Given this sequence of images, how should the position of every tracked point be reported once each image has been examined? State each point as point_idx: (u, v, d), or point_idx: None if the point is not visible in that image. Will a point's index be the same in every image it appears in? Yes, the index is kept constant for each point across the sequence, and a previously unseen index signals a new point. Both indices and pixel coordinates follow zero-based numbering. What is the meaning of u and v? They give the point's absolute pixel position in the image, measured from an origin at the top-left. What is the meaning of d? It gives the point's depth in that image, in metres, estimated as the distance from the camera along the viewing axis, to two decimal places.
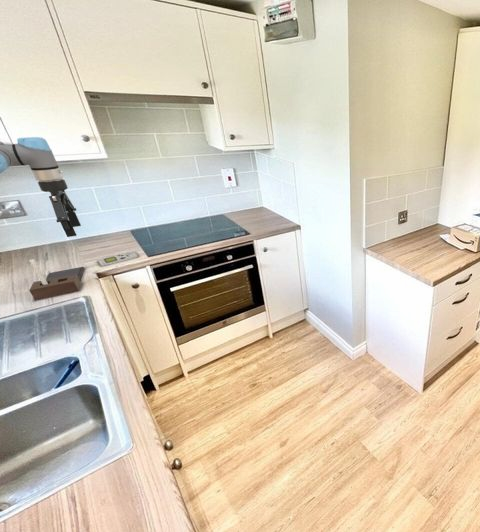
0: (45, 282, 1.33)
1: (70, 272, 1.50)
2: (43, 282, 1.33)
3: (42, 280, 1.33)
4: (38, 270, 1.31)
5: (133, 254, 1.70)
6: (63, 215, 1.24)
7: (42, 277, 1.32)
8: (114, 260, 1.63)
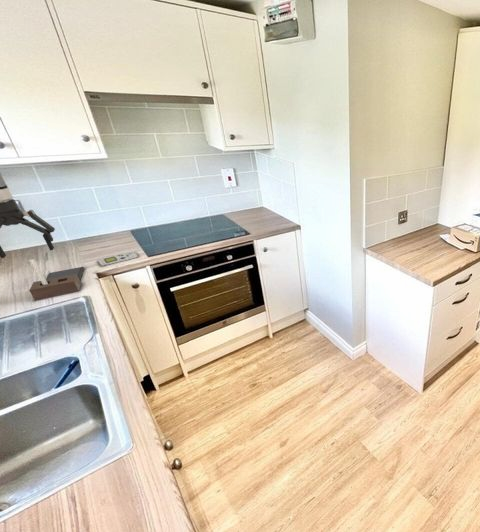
0: (45, 282, 1.33)
1: (70, 272, 1.50)
2: (43, 282, 1.33)
3: (42, 280, 1.33)
4: (38, 270, 1.31)
5: (133, 254, 1.70)
6: (50, 225, 1.29)
7: (42, 277, 1.32)
8: (114, 260, 1.63)
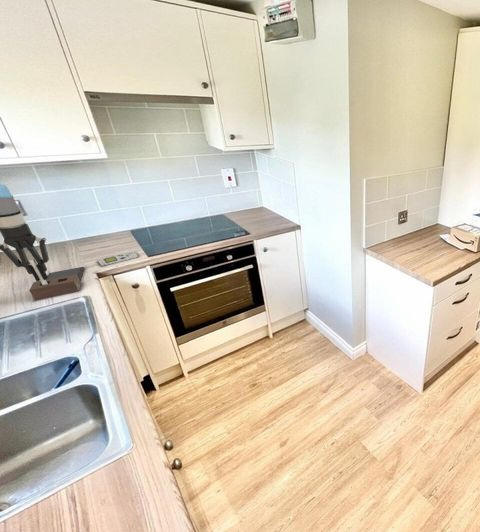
0: (45, 282, 1.33)
1: (70, 272, 1.50)
2: (42, 282, 1.33)
3: (42, 280, 1.33)
4: (38, 270, 1.31)
5: (133, 254, 1.70)
6: (47, 256, 1.32)
7: (42, 277, 1.32)
8: (114, 260, 1.63)
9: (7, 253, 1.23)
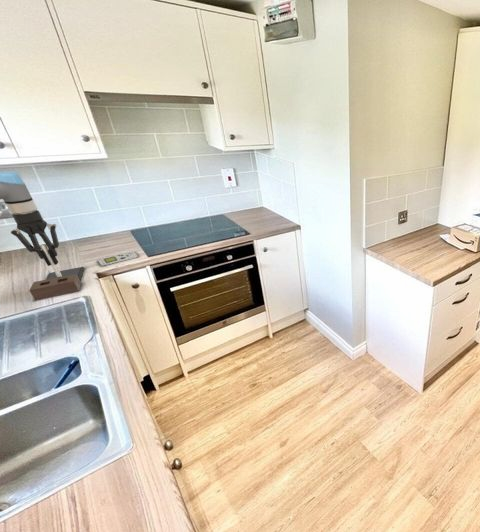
0: (55, 266, 1.40)
1: (70, 272, 1.50)
2: (53, 266, 1.39)
3: (52, 264, 1.39)
4: (49, 255, 1.37)
5: (133, 254, 1.70)
6: None
7: (52, 262, 1.39)
8: (114, 260, 1.63)
9: (20, 238, 1.30)
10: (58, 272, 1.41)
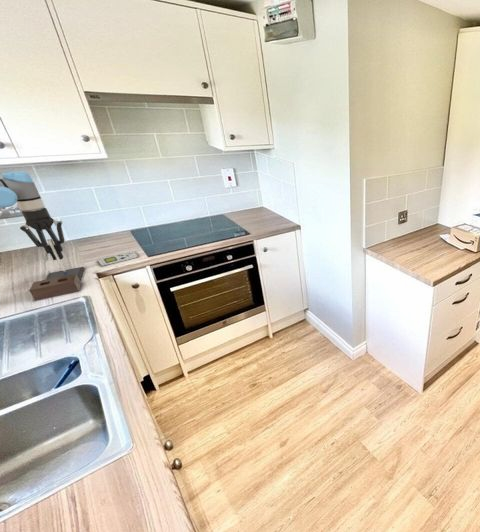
0: (60, 261, 1.48)
1: (70, 272, 1.50)
2: (58, 260, 1.47)
3: (57, 259, 1.47)
4: (54, 249, 1.45)
5: (133, 254, 1.70)
6: (63, 237, 1.47)
7: (58, 256, 1.47)
8: (114, 260, 1.63)
9: (28, 234, 1.38)
10: (62, 266, 1.49)
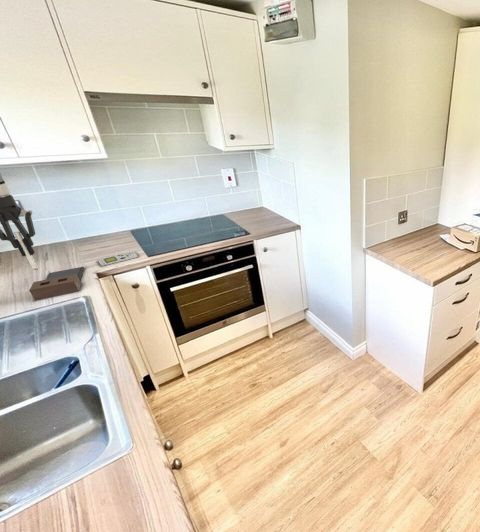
0: (30, 257, 1.28)
1: (70, 272, 1.50)
2: (28, 256, 1.27)
3: (27, 254, 1.27)
4: (23, 243, 1.25)
5: (133, 254, 1.70)
6: (34, 230, 1.27)
7: (27, 251, 1.27)
8: (114, 260, 1.63)
9: None
10: (33, 263, 1.29)
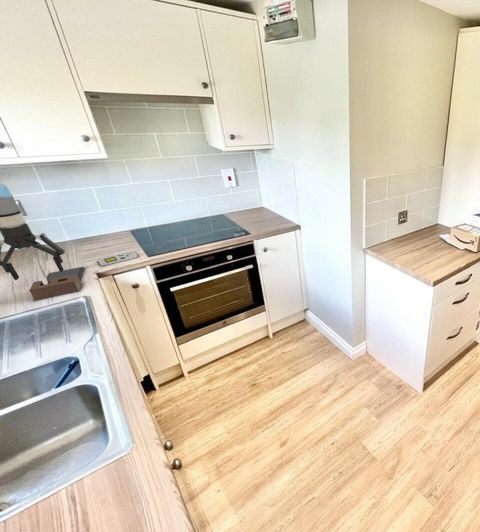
0: (46, 281, 1.34)
1: (70, 272, 1.50)
2: (44, 281, 1.34)
3: (43, 279, 1.33)
4: (40, 268, 1.33)
5: (133, 254, 1.70)
6: (60, 248, 1.33)
7: (43, 276, 1.33)
8: (114, 260, 1.63)
9: None
10: None
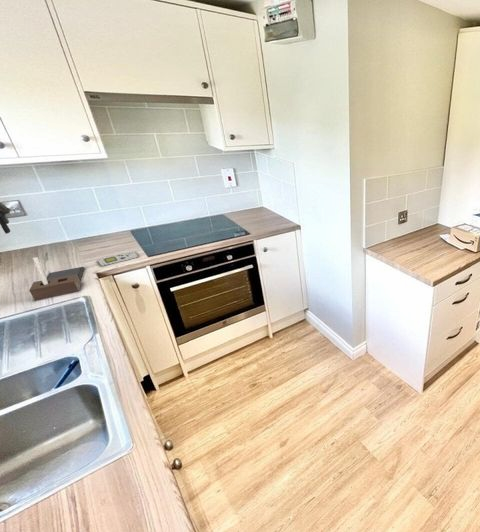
0: (46, 281, 1.34)
1: (70, 272, 1.50)
2: (44, 281, 1.34)
3: (43, 279, 1.33)
4: (40, 268, 1.33)
5: (133, 254, 1.70)
6: (5, 206, 1.19)
7: (43, 276, 1.33)
8: (114, 260, 1.63)
9: None
10: None
